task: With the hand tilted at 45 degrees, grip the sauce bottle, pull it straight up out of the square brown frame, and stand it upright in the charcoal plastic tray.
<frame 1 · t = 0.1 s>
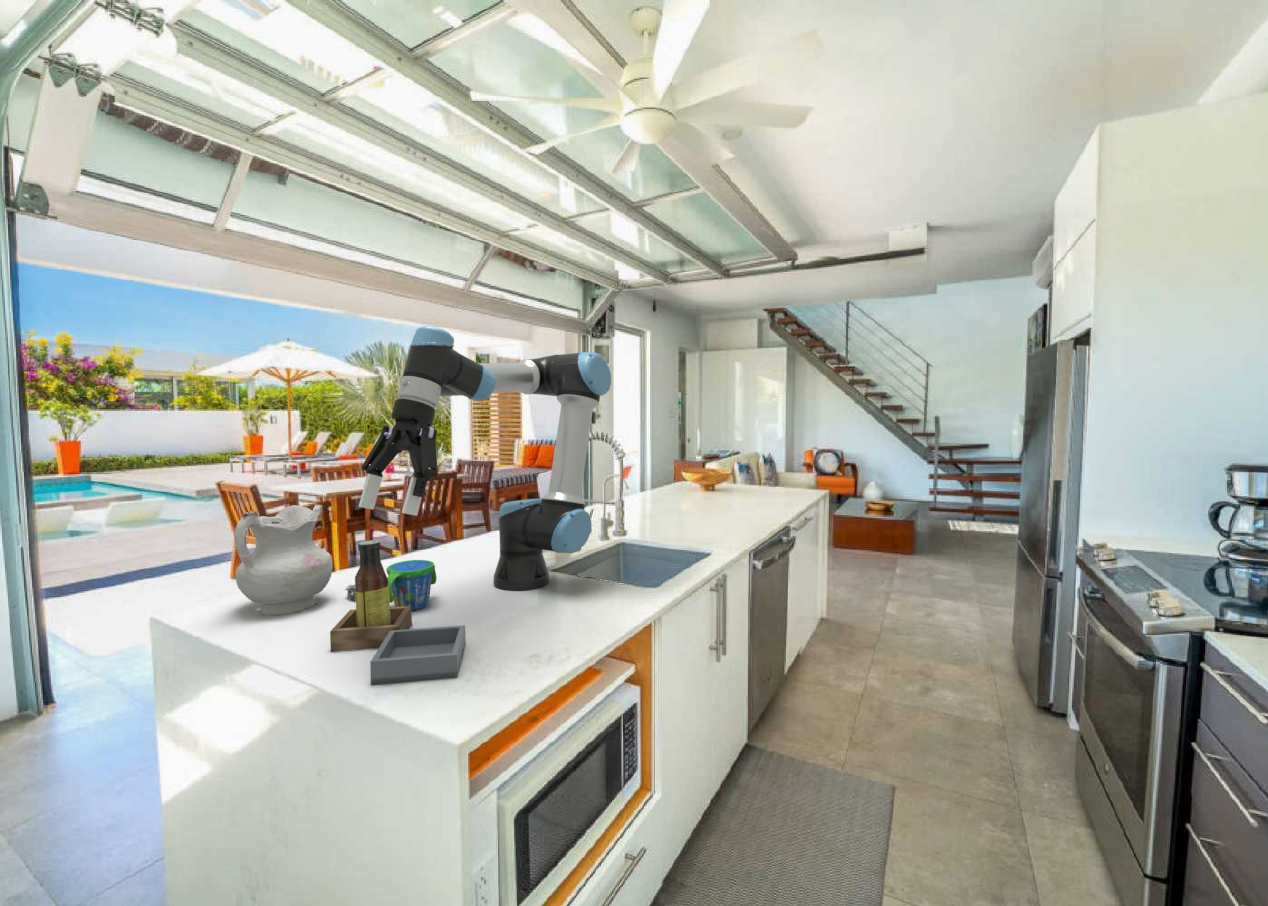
hand: (386, 511, 100), 28 cm above the counter, fingers open, 13 cm apart
ceramic pitcher: (283, 609, 128), on the counter
snack cup: (411, 607, 129), on the counter
sauce bottle: (373, 637, 111), resting in square brown frame
tray: (422, 663, 99), on the counter
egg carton: (370, 597, 138), on the counter
square brown frame: (373, 636, 111), on the counter
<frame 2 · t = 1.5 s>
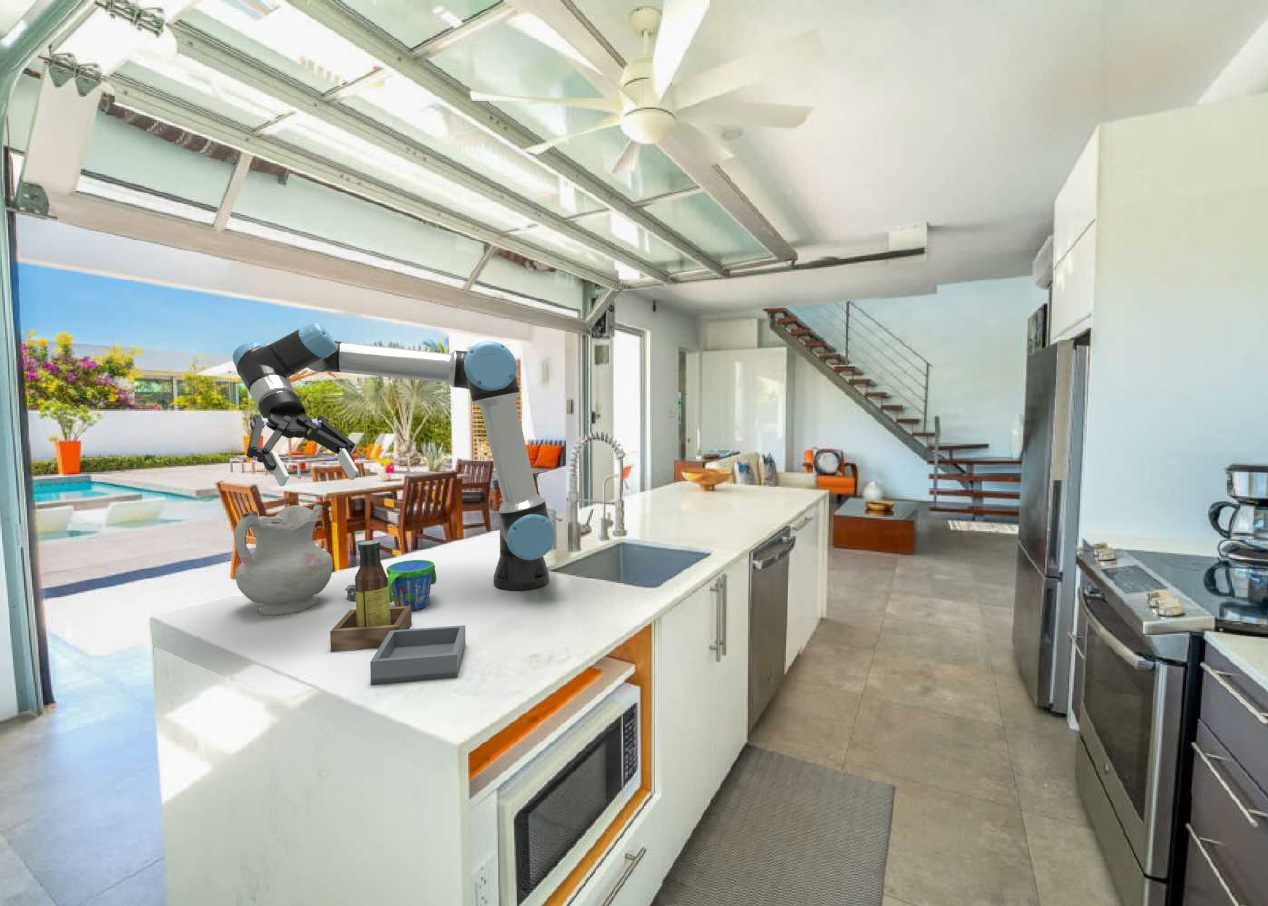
hand: (321, 478, 105), 33 cm above the counter, fingers open, 13 cm apart
nothing on the counter moved.
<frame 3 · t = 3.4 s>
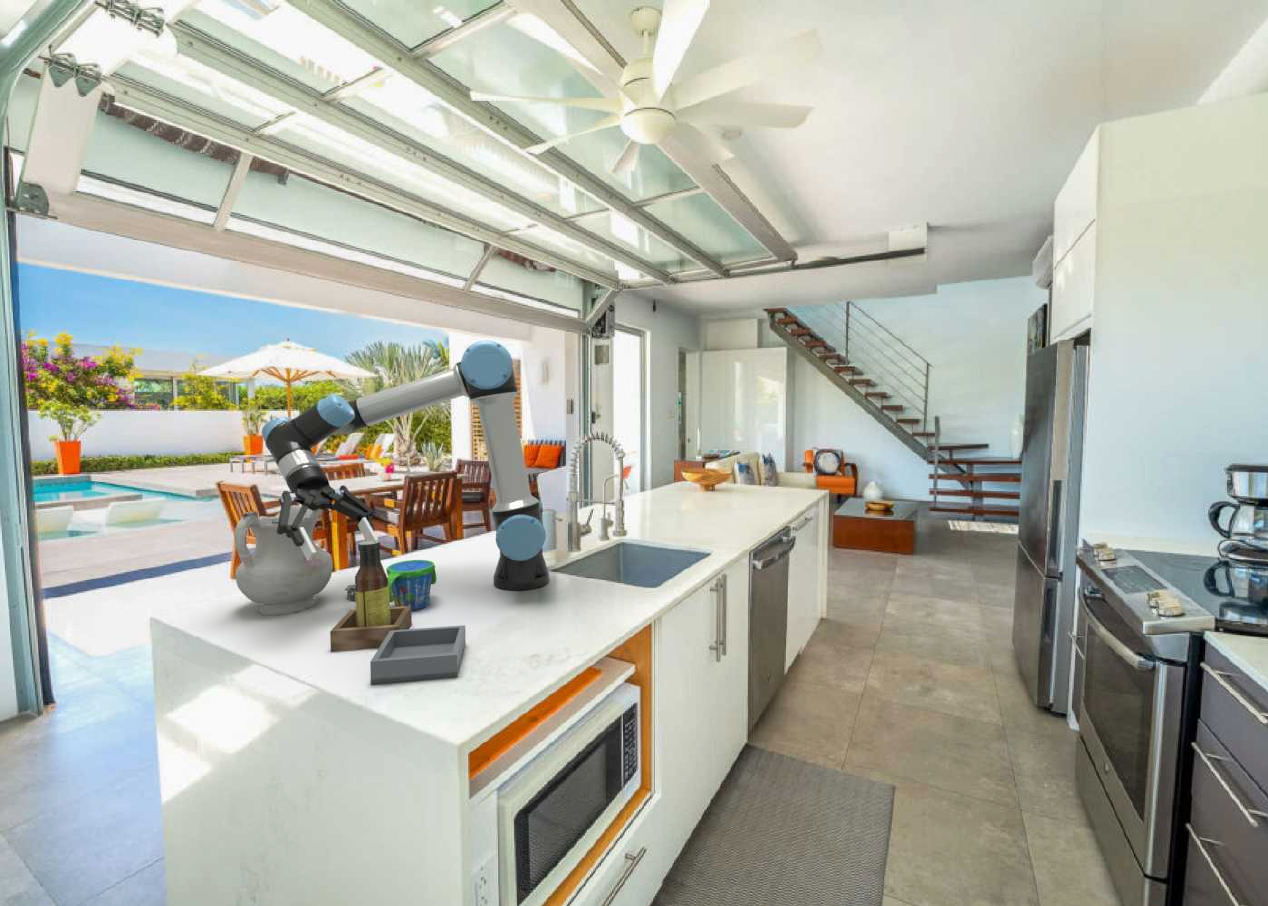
hand: (344, 550, 114), 17 cm above the counter, fingers open, 13 cm apart
nothing on the counter moved.
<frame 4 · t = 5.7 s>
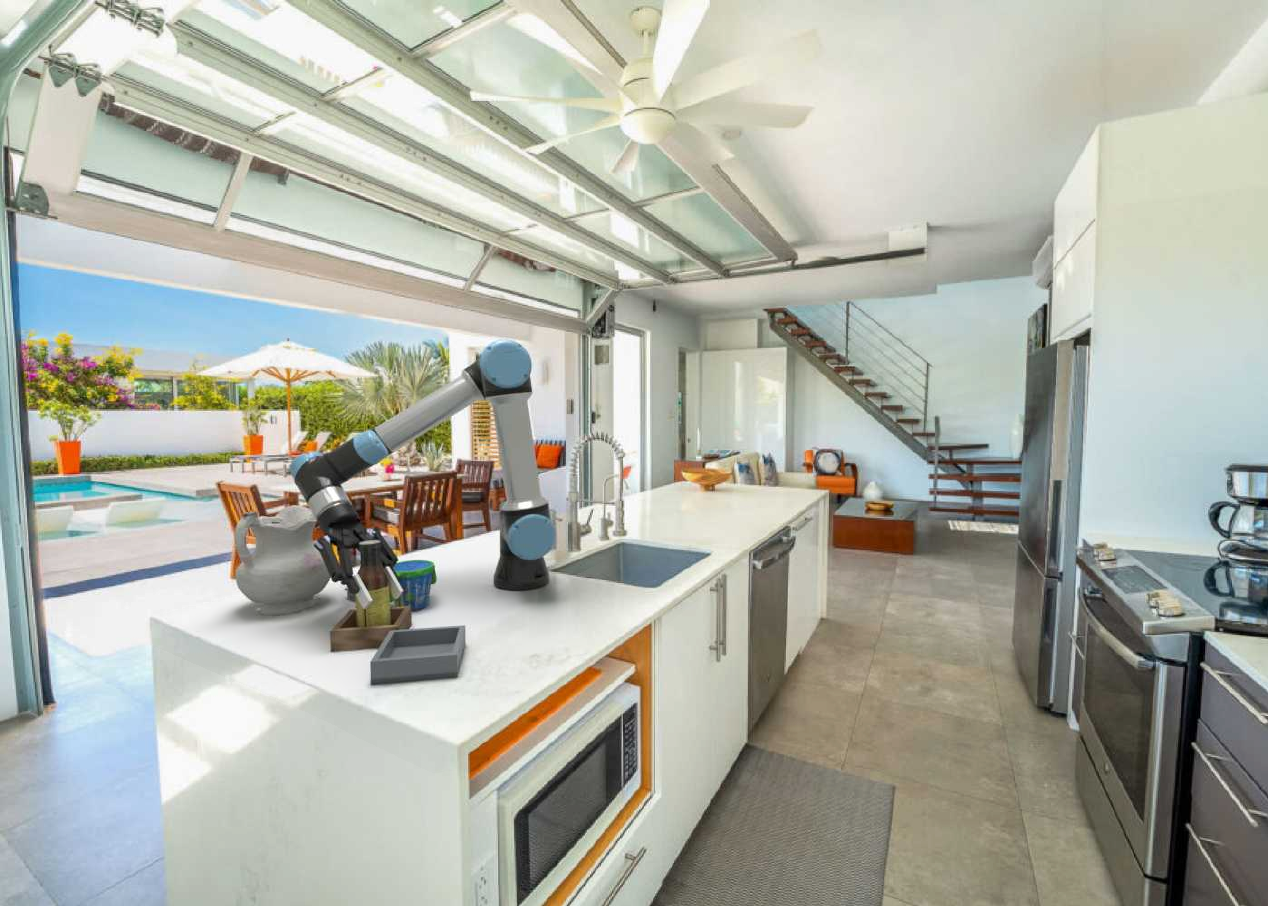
hand: (383, 599, 109), 8 cm above the counter, fingers closed on sauce bottle, 6 cm apart
sauce bottle: (373, 637, 111), resting in square brown frame, touching gripper
everything else where it was.
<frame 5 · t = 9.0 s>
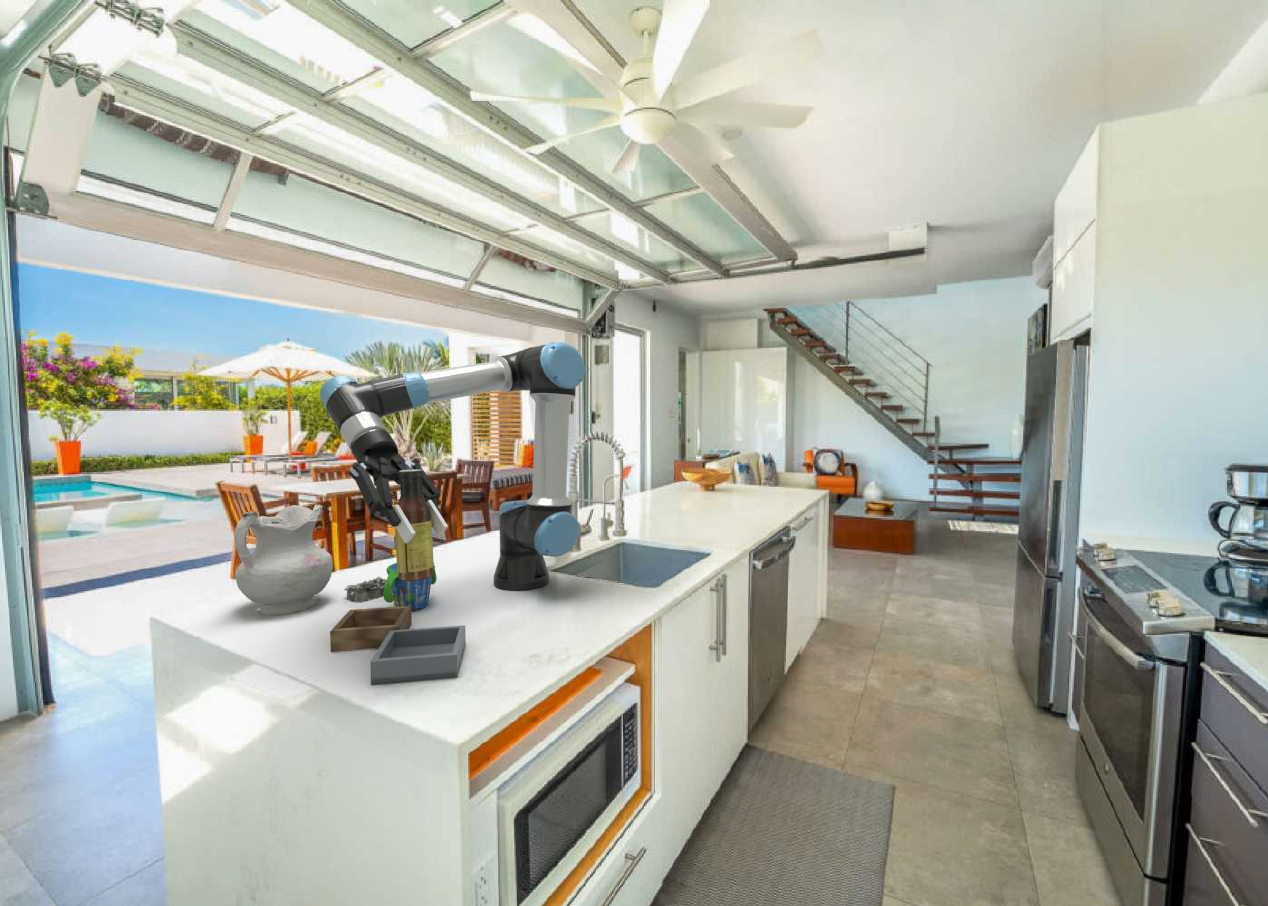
hand: (427, 534, 96), 24 cm above the counter, fingers closed on sauce bottle, 6 cm apart
sauce bottle: (414, 578, 98), point 16 cm above the counter, touching gripper
everything else where it was.
when the fingers open (11 cm above the counter, at t = 12.4 s): sauce bottle drops 1 cm, resting on tray.
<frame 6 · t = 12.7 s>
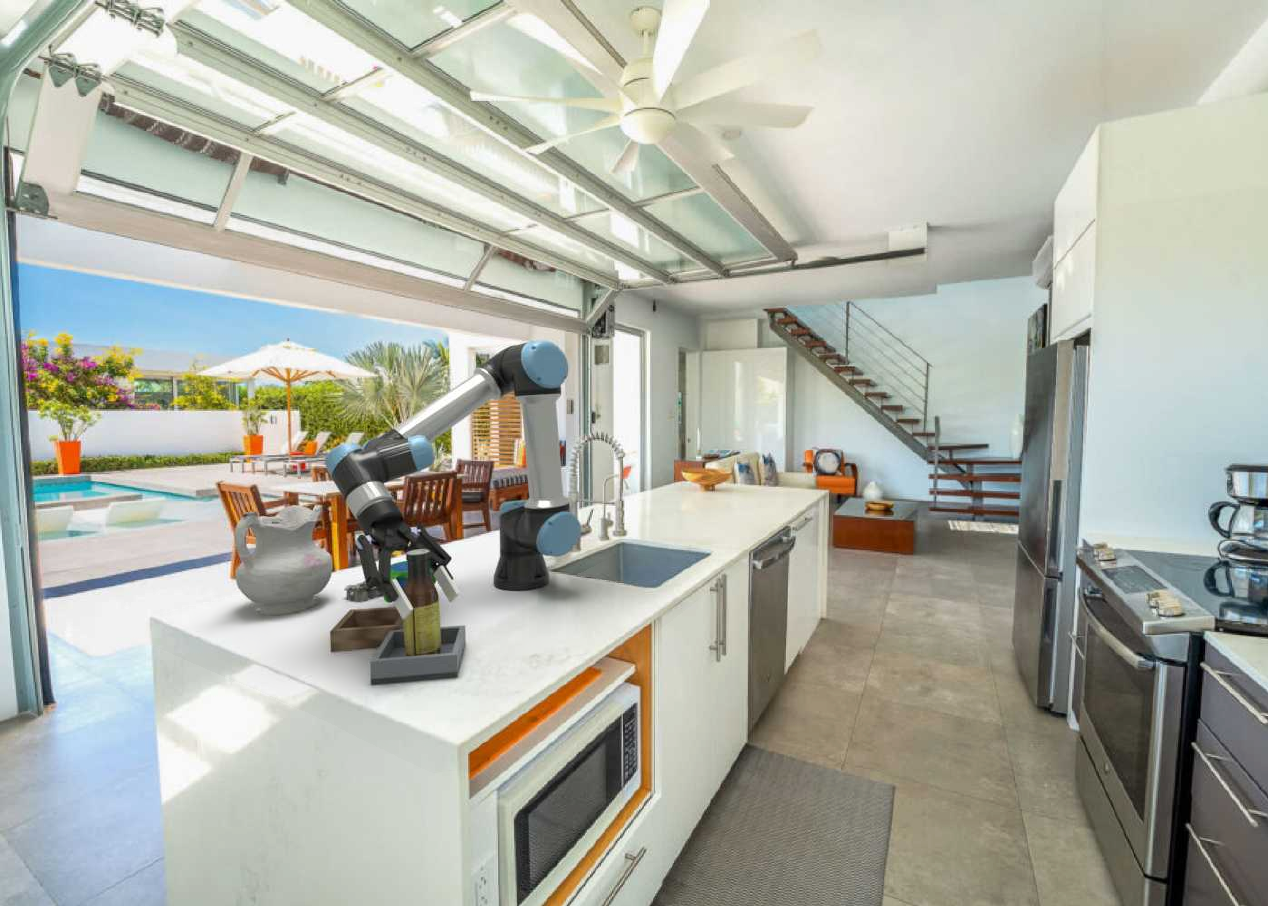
hand: (432, 605, 97), 11 cm above the counter, fingers open, 9 cm apart
sauce bottle: (422, 658, 99), point 1 cm above the counter, touching tray
everything else where it was.
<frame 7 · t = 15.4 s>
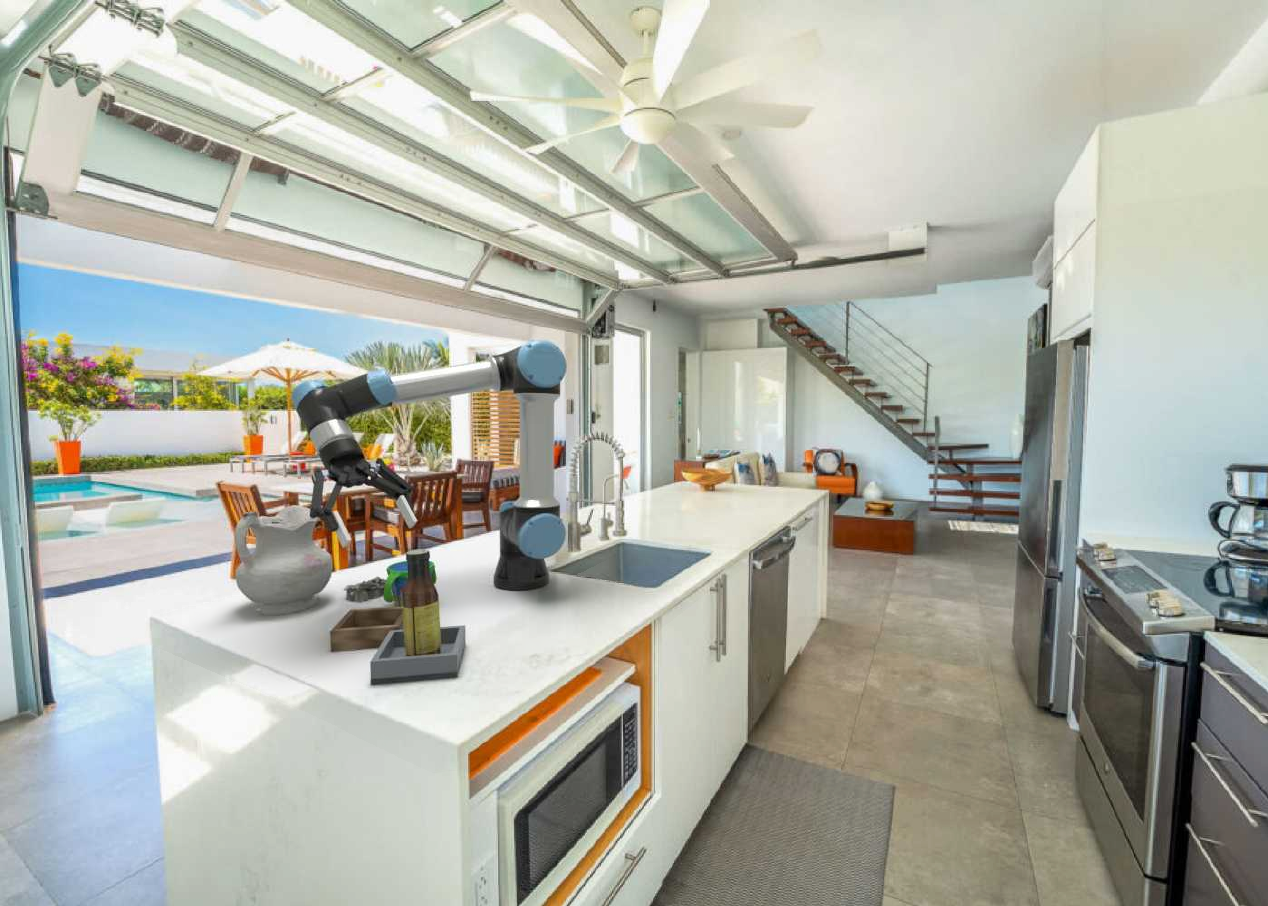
hand: (382, 533, 106), 22 cm above the counter, fingers open, 13 cm apart
nothing on the counter moved.
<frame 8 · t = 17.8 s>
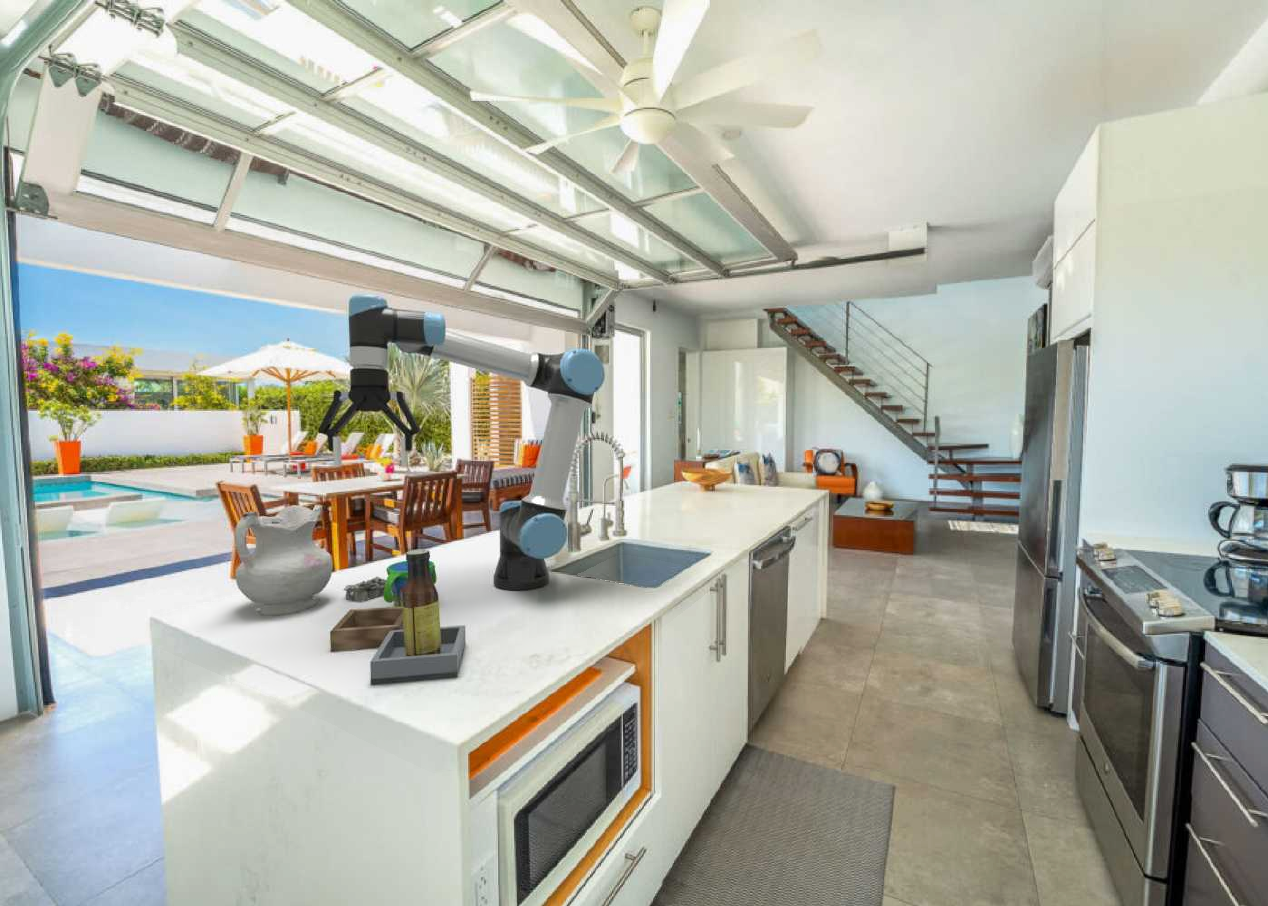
hand: (371, 466, 118), 35 cm above the counter, fingers open, 13 cm apart
nothing on the counter moved.
at the end: sauce bottle inside the target area on the tray (0.2 cm from its centre), point 0.8 cm above the tray's base; sauce bottle tilted 0°; the gripper is holding nothing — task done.
